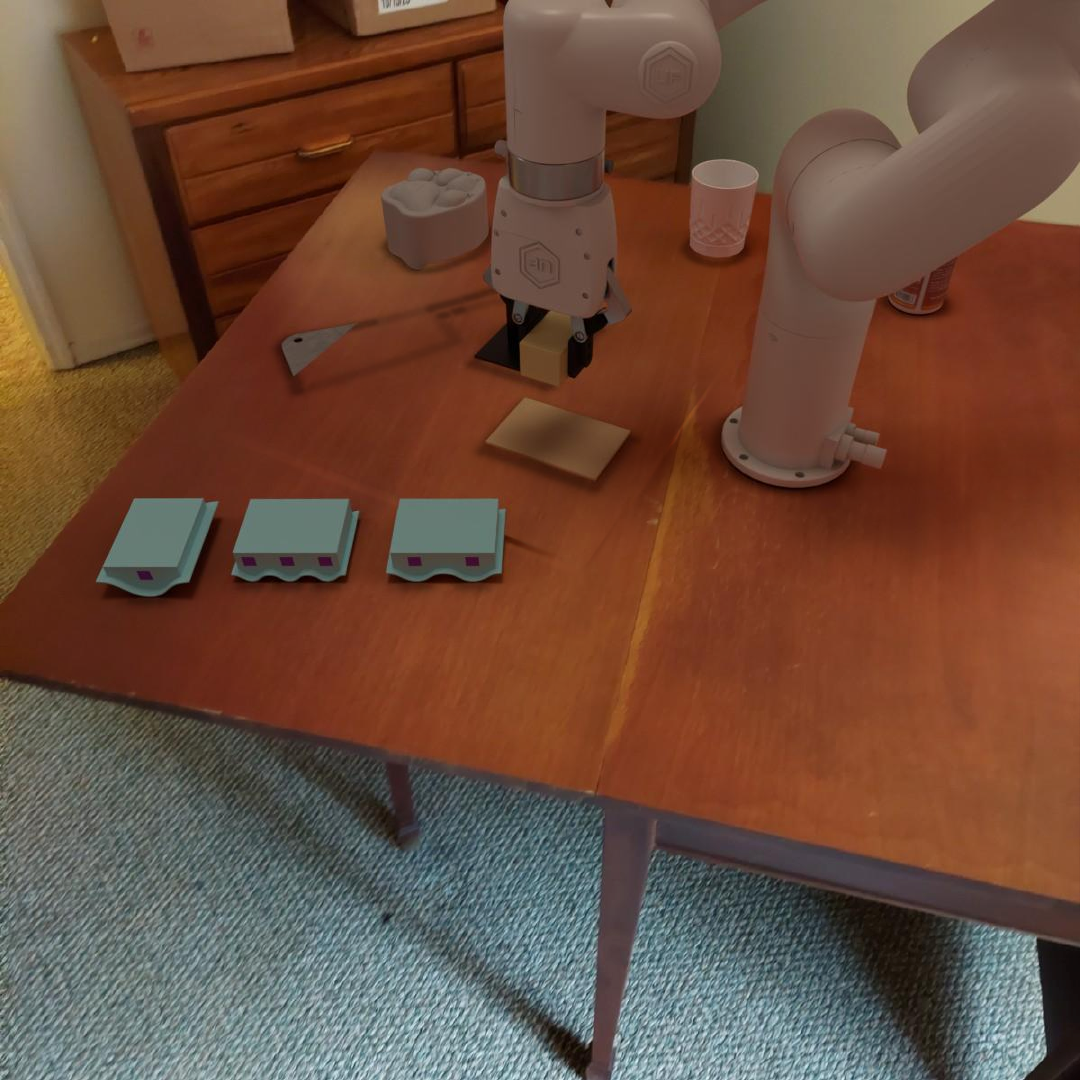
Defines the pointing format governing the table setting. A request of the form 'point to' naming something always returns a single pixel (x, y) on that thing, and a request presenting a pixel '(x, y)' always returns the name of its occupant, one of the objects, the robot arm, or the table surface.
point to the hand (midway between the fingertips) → (555, 361)
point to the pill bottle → (925, 291)
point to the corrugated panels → (303, 541)
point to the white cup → (721, 206)
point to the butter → (547, 350)
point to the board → (559, 438)
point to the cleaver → (310, 346)
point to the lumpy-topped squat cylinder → (435, 215)
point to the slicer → (504, 345)
